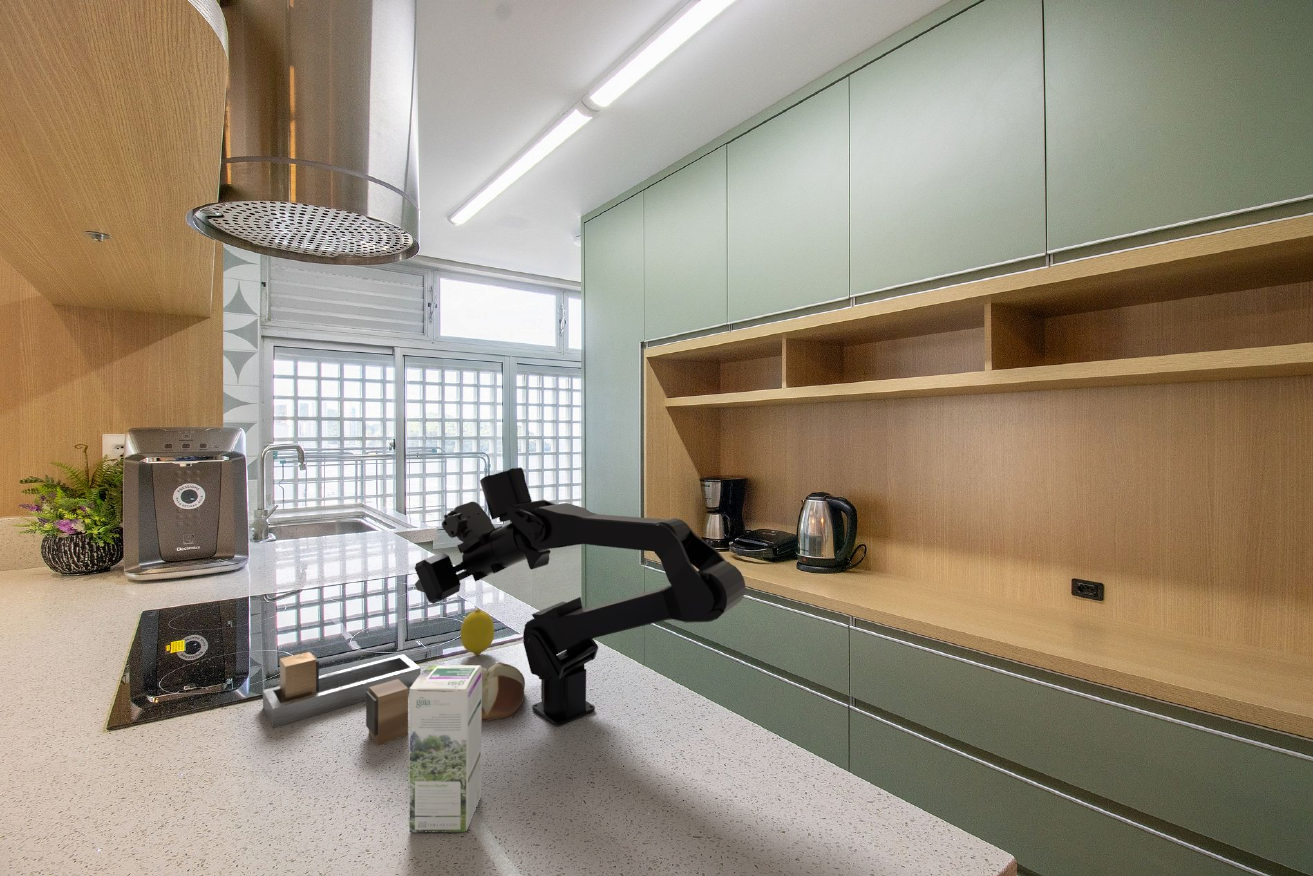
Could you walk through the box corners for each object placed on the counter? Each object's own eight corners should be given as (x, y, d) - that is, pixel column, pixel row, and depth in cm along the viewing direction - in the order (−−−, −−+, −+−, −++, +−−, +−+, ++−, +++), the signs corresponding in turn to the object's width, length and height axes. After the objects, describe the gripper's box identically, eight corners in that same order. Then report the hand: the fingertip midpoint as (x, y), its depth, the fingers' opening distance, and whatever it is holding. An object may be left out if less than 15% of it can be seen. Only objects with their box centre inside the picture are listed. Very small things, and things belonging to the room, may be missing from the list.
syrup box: (483, 796, 62) (483, 662, 61) (466, 835, 56) (467, 687, 55) (429, 797, 61) (429, 662, 61) (406, 836, 55) (407, 687, 55)
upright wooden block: (408, 734, 74) (408, 688, 74) (374, 746, 71) (375, 698, 71) (397, 724, 76) (398, 679, 76) (365, 734, 74) (365, 688, 73)
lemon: (473, 664, 95) (473, 616, 95) (453, 656, 99) (454, 610, 98) (500, 654, 100) (501, 608, 99) (481, 646, 103) (481, 602, 103)
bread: (527, 684, 89) (527, 652, 88) (521, 722, 77) (521, 685, 77) (452, 688, 87) (452, 656, 87) (435, 728, 76) (435, 690, 76)
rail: (420, 684, 88) (420, 638, 88) (273, 727, 75) (273, 674, 75) (403, 669, 93) (403, 626, 93) (263, 708, 80) (262, 658, 80)
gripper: (525, 483, 94) (463, 515, 101) (436, 512, 77) (369, 547, 84) (552, 546, 93) (488, 573, 100) (468, 589, 77) (398, 618, 84)
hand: (439, 576), depth 92 cm, fingers open, 9 cm apart
